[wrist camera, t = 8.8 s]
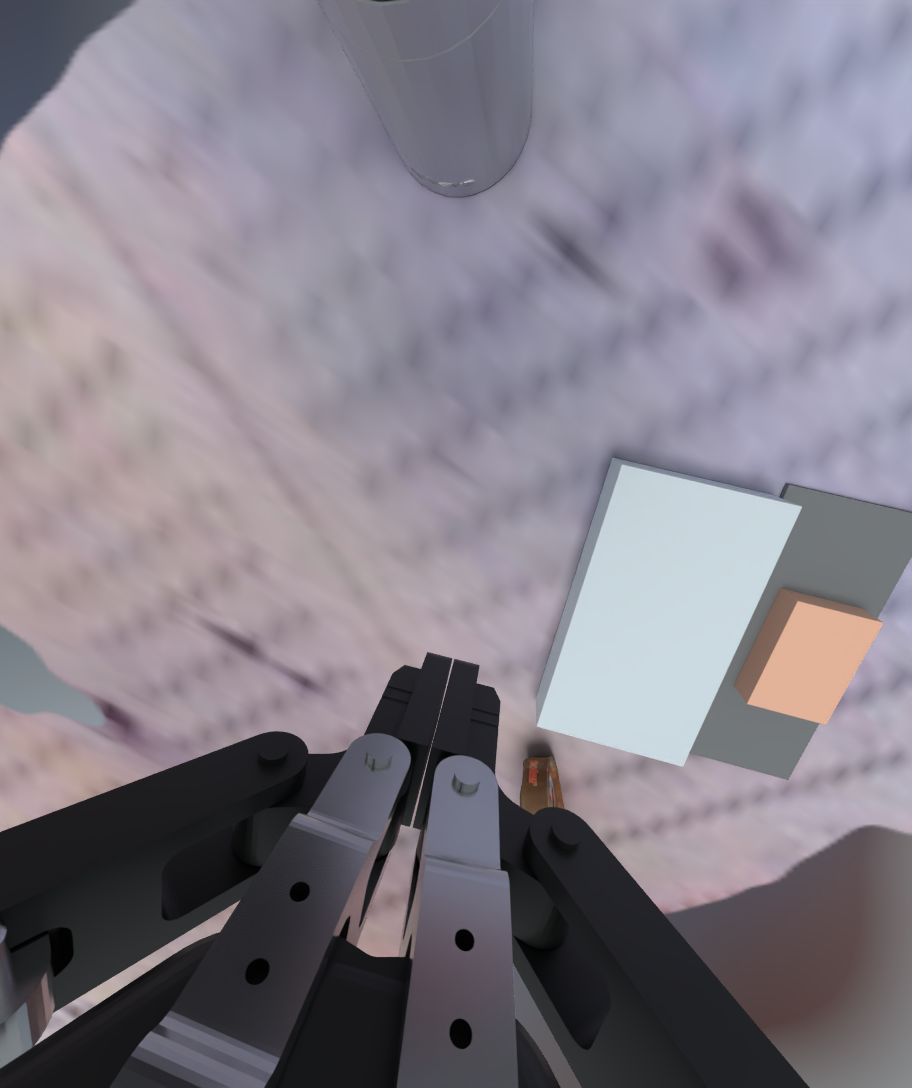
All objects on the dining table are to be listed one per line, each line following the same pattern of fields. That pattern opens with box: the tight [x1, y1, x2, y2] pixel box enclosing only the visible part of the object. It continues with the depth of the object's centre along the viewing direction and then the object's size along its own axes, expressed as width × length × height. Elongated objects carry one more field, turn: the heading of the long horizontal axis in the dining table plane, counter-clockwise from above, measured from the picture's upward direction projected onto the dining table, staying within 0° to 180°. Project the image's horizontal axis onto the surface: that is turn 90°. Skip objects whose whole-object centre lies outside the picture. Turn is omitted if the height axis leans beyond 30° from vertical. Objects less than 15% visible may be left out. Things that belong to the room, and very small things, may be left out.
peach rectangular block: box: [734, 588, 883, 725], centre depth 37 cm, size 9×6×2 cm, turn 168°
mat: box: [689, 484, 912, 780], centre depth 39 cm, size 24×10×1 cm, turn 168°
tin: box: [520, 756, 564, 815], centre depth 43 cm, size 15×3×8 cm, turn 12°
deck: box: [536, 457, 802, 767], centre depth 38 cm, size 22×12×4 cm, turn 168°
